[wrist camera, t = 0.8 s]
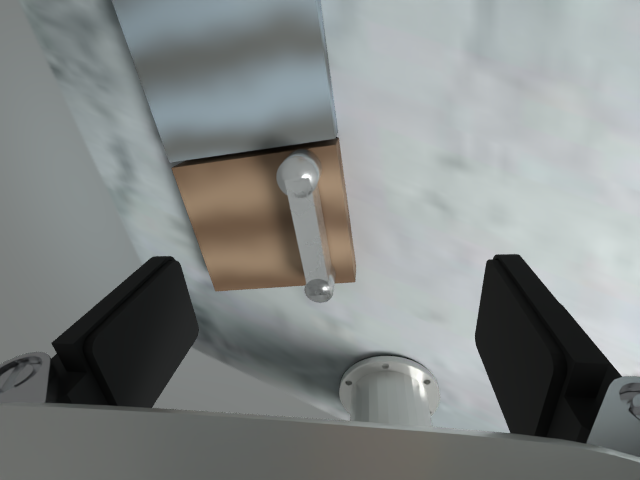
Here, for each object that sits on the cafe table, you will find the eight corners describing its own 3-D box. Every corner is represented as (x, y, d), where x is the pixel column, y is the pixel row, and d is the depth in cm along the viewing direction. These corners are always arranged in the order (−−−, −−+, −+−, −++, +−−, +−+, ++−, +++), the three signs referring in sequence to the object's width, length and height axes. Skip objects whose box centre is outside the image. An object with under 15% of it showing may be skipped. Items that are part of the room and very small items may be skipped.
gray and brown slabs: (355, 266, 36) (354, 294, 32) (225, 275, 39) (207, 302, 35) (310, -69, 24) (298, -99, 20) (126, -21, 27) (79, -38, 23)
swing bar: (281, 152, 28) (272, 160, 26) (318, 146, 28) (313, 155, 25) (309, 285, 34) (304, 303, 32) (340, 282, 34) (338, 301, 31)
